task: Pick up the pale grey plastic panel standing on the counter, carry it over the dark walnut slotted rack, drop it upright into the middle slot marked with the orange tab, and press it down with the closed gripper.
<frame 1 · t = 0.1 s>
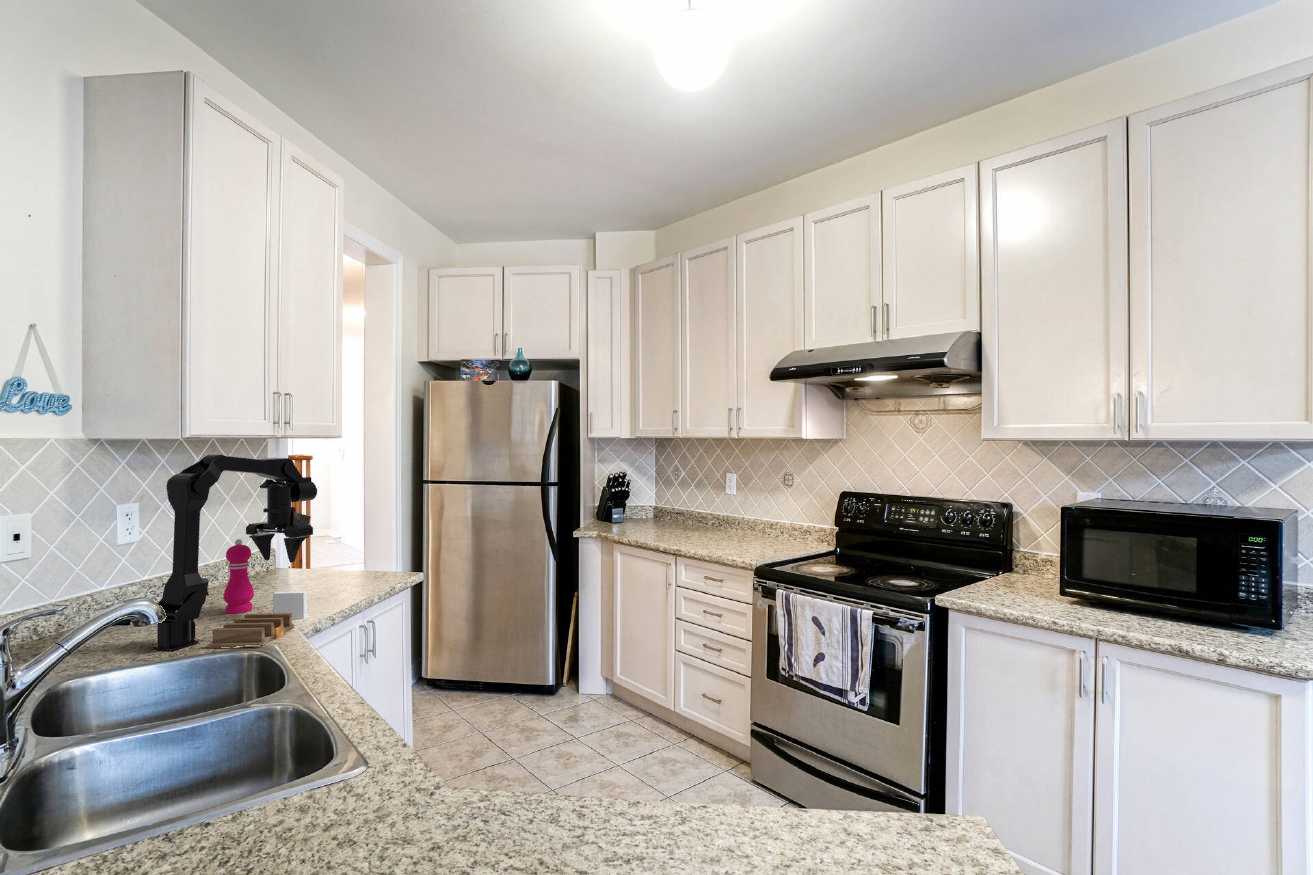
hand: (279, 561, 179), 15 cm above the countertop, tool pointing down, fingers open, 9 cm apart
pepper mill: (239, 611, 183), on the countertop
rack: (254, 637, 158), on the countertop
panel: (290, 618, 175), on the countertop
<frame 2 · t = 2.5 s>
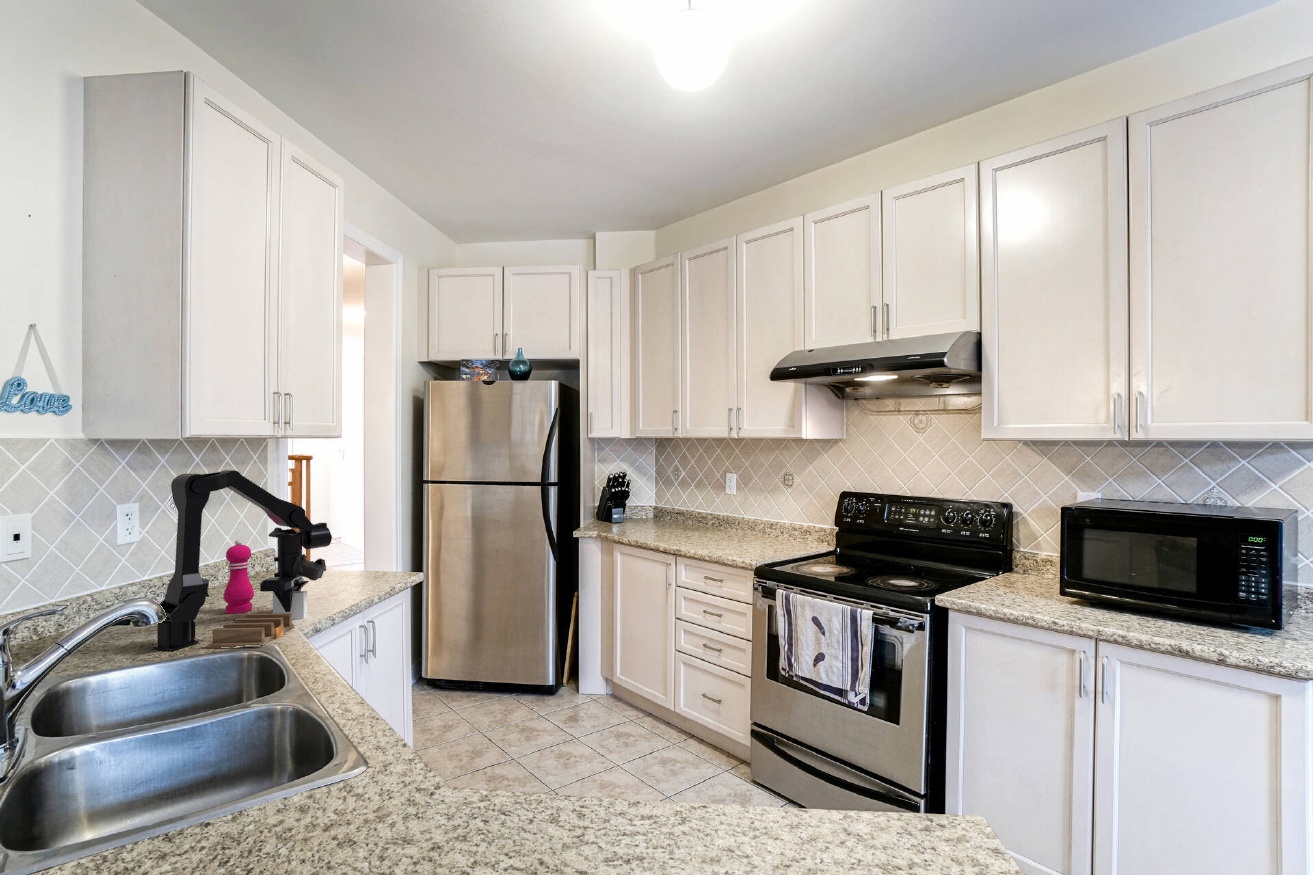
hand: (290, 610, 175), 2 cm above the countertop, tool pointing down, fingers closed on panel, 2 cm apart
panel: (290, 618, 175), on the countertop, touching gripper
everything else where it was.
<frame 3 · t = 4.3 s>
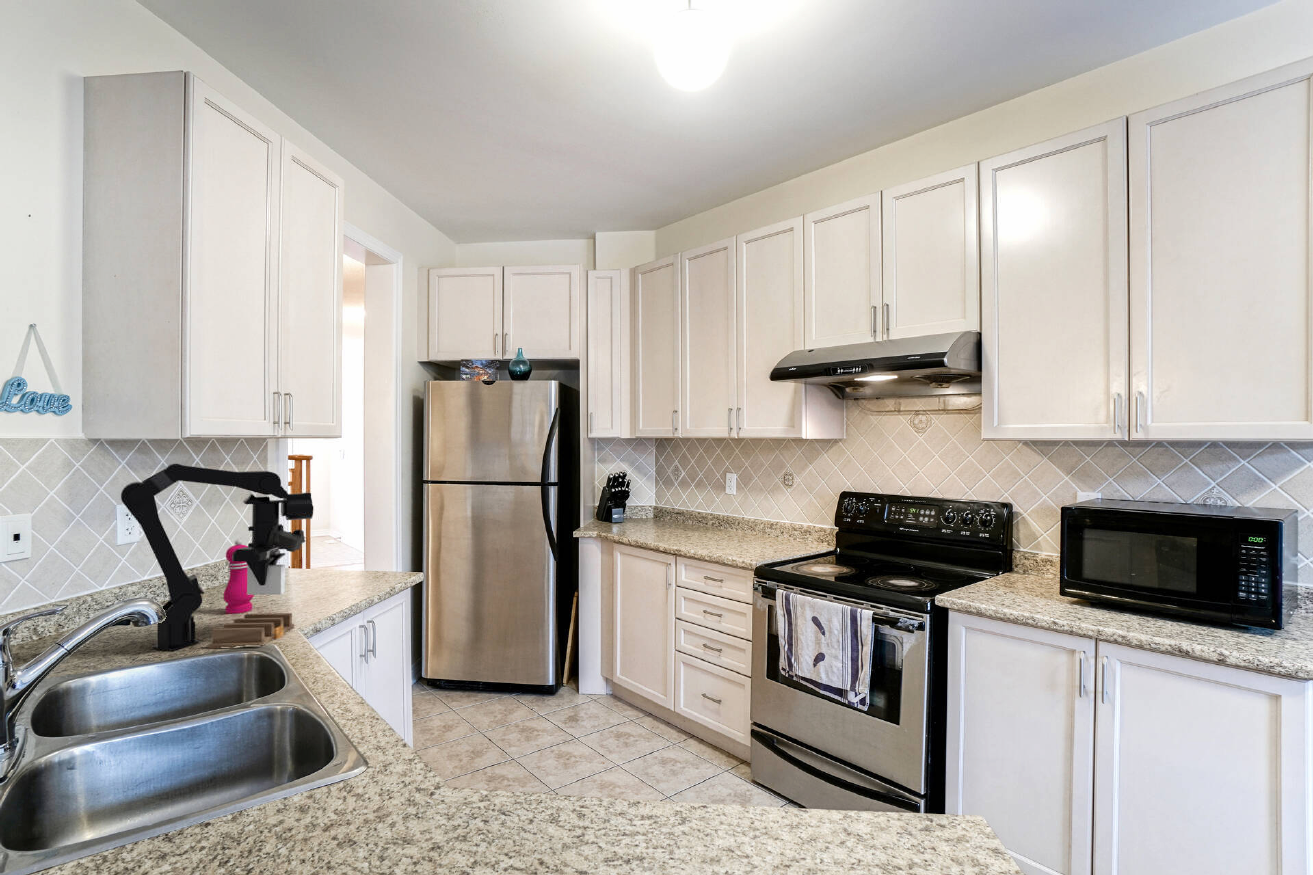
hand: (264, 584, 163), 12 cm above the countertop, tool pointing down, fingers closed on panel
panel: (266, 593, 163), point 9 cm above the countertop, touching gripper
everything else where it was.
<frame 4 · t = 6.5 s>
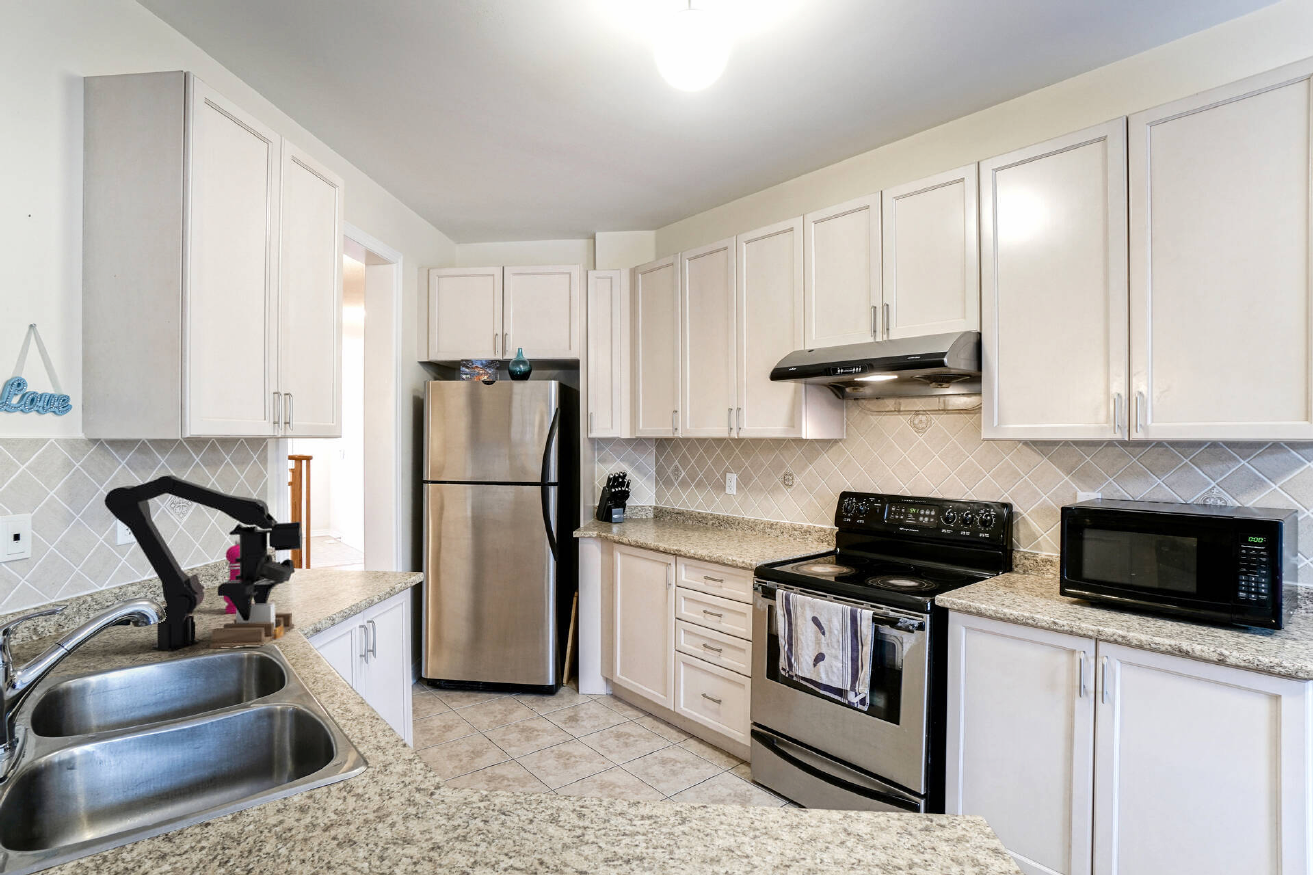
hand: (253, 616, 158), 5 cm above the countertop, tool pointing down, fingers open, 6 cm apart
panel: (255, 633, 158), point 1 cm above the countertop, touching rack
everything else where it was.
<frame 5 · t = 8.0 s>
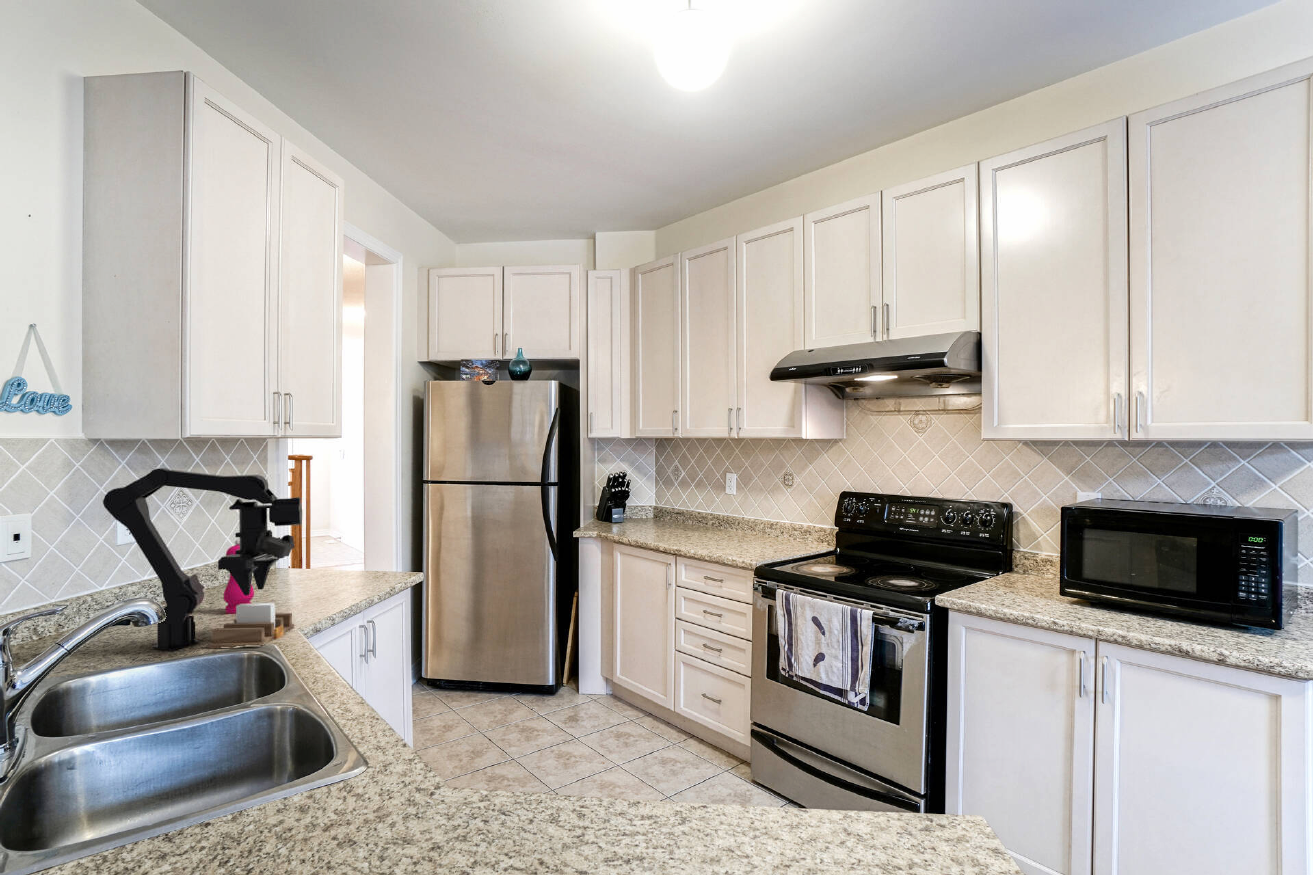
hand: (253, 592, 158), 11 cm above the countertop, tool pointing down, fingers open, 6 cm apart
nothing on the countertop moved.
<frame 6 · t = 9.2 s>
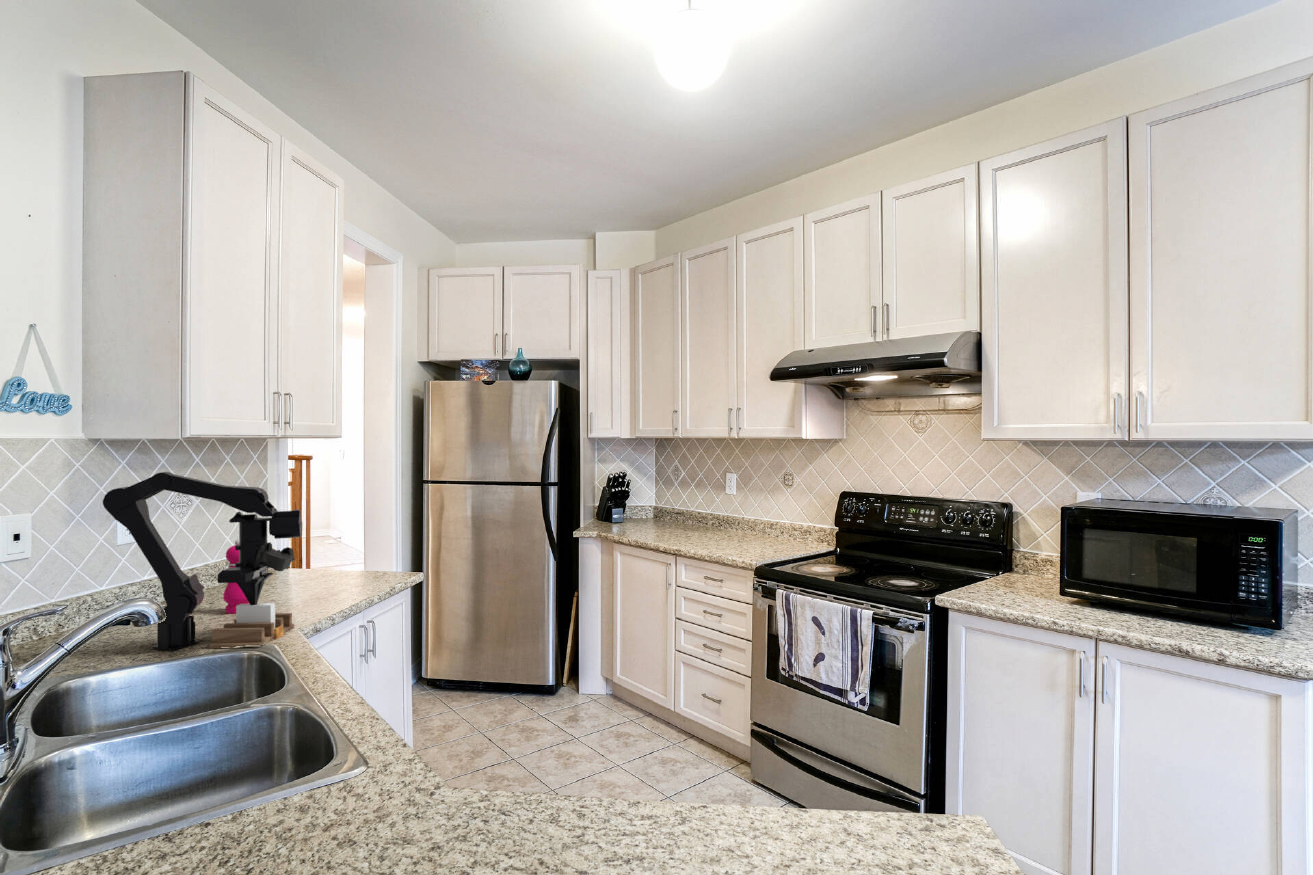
hand: (253, 604, 158), 8 cm above the countertop, tool pointing down, fingers closed, pressing on panel
panel: (255, 633, 158), point 1 cm above the countertop, touching gripper, rack
everything else where it was.
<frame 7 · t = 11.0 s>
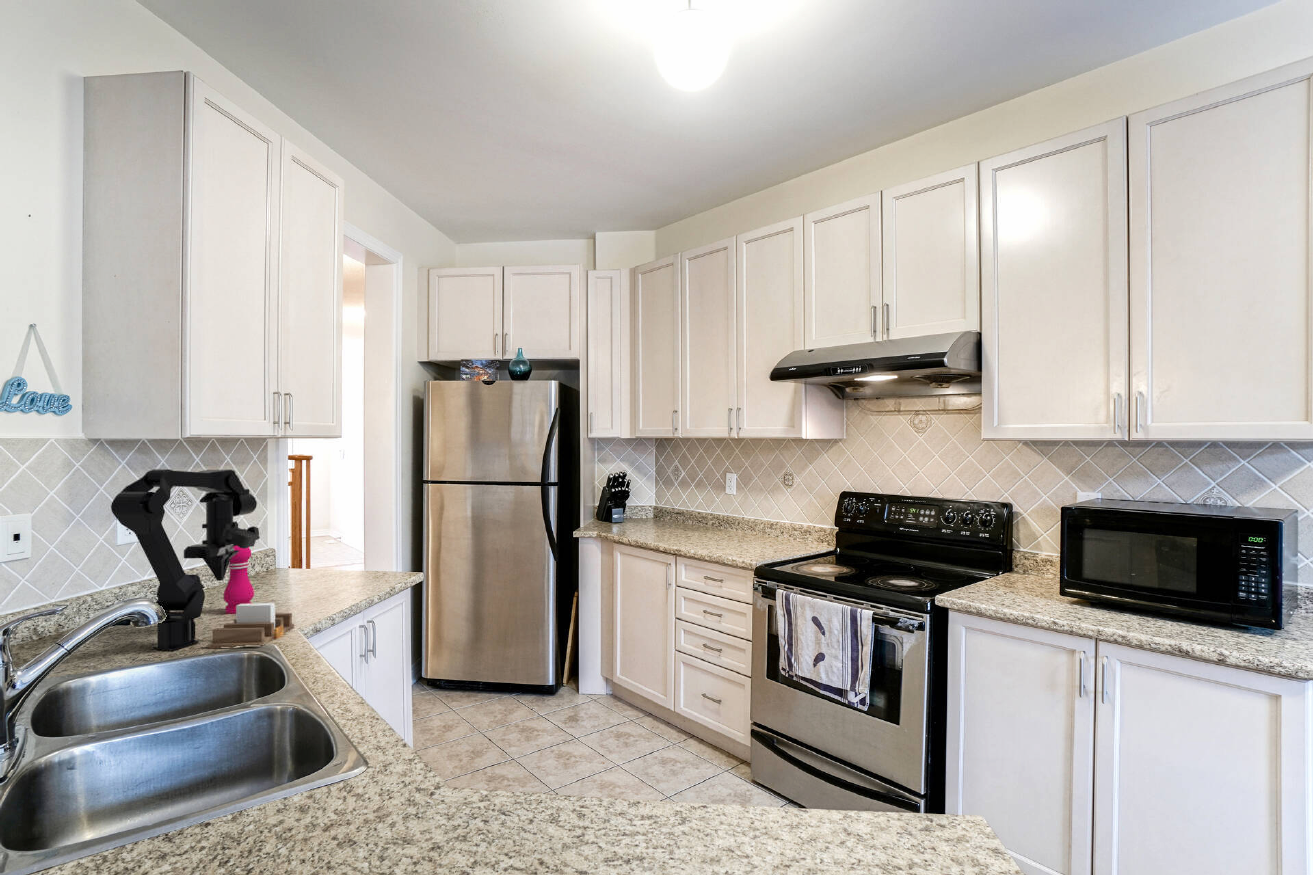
hand: (220, 580, 167), 12 cm above the countertop, tool pointing down, fingers closed
panel: (255, 633, 158), point 1 cm above the countertop, touching rack
everything else where it was.
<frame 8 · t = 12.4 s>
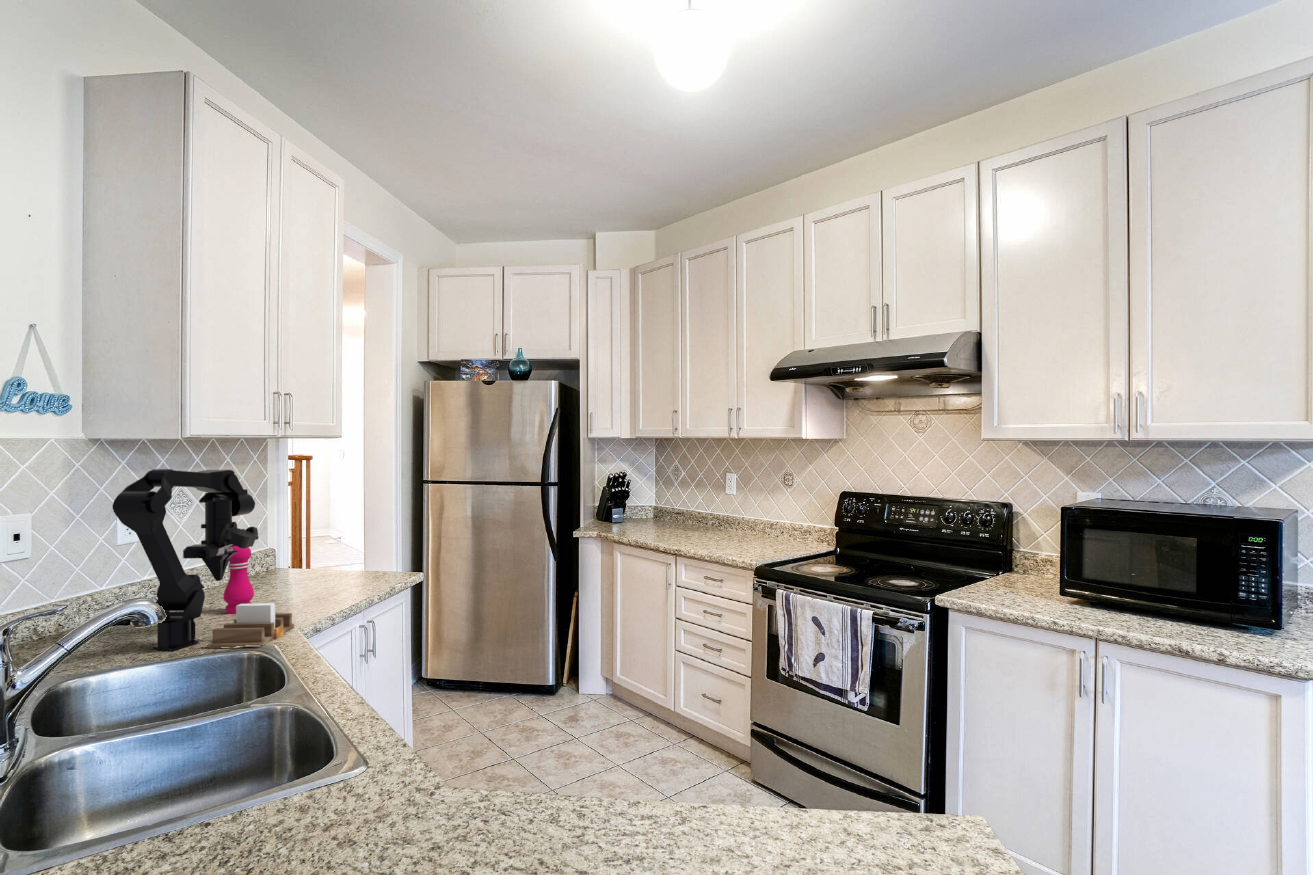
hand: (219, 580, 167), 12 cm above the countertop, tool pointing down, fingers closed
nothing on the countertop moved.
at the end: panel 0.4 cm off-centre on the rack, point 1.0 cm above the rack's base; panel tilted 0°; the gripper is holding nothing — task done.
